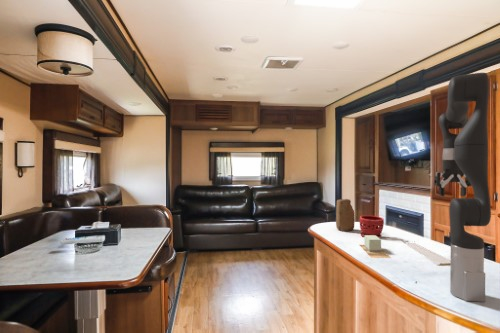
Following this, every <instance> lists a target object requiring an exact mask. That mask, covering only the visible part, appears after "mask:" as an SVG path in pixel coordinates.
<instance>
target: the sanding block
mask: <svg viewBox="0 0 500 333" xmlns="http://www.w3.org/2000/svg"><path fill="white" fill-rule="evenodd" d="M364 245H365V248H366V249H367V250H368V251H369V252H381V249H382V239H381V237H377V236H376V235H365V237H364Z"/></svg>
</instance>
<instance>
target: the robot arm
mask: <svg viewBox="0 0 500 333" xmlns="http://www.w3.org/2000/svg"><path fill="white" fill-rule="evenodd" d="M489 92H490V80H489V76H488V73H487V72H476V73H475V72H474V73H466V74H460V75H455V76H453V77H451V79H450V80H449V82H448V86H447V107H446V111H445V113H441V114H440V116H439V117H438V125H439V128H440V131H441V133H442V140H443V141H442V142H443V143H442V146H443V149H442V157H441V158H442V172H438V171H436V172H434V179H433V180H434V181H433V186H435V187H438V195H439V196H440V197H445V187H446V185H448V184H449V183H457V184H459V186H460V191H459V192H460V194H459V195H460V197H456V198H451V200H450V203H449V208H448V212H449V214H448V215H449V233H450V234H449V236H450V260H451V265H449V268H450V273H449V274H450V275H449V276H450V279H449V280H450V282H449V283H450V285H449V287H450V288H449V289H450V290H449V291H450V294H451V295H453V296H454V297H455V298H459V299H462V300H463V301H465V302H486V273H485V270H484V269H485V240H484V238H482V237H480V236H479V235H475V234H472V233H469V232H468V231H466V230H465V226H466V227H487V226H489V224H490V222H491V217H492V209H491V207H492V206H491V196H490V189H489V176H488V175H489V134H488V113H489V112H488V110H489V96H490V95H489V94H490V93H489ZM470 102H471V103H472V102H474V103H475V106H474V109H473V112H472V113H471V115H470V117H469V116H468V112H469V109H470V107H469V106H470V105H469V103H470ZM455 129H457V130H460V131H459V133H452V132H450V130H455ZM463 177H464V179H463ZM441 178H442V179H441ZM468 187H471V188H472V191H473V198H472V197H471V198H470V197H469V198H468V197H467V198H465V197H466V195H467V188H468ZM462 197H463V198H462Z"/></svg>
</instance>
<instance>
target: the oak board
mask: <svg viewBox="0 0 500 333" xmlns="http://www.w3.org/2000/svg"><path fill="white" fill-rule="evenodd" d="M359 247H360V248H361V249H362V250H363V251H364V252H365V253H366V255H368V256H369V257H370V258H372V259H373V258H374V259H375V258H376V259H392V257H391V256H390V255H389V254H387V252H385V251H384V249H382V248H381V252H369V251H368V250H367V249H366V248H365V244H359Z"/></svg>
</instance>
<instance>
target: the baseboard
mask: <svg viewBox="0 0 500 333" xmlns="http://www.w3.org/2000/svg"><path fill="white" fill-rule="evenodd" d="M406 242H407V243H406ZM404 244H405V245H406V246H408V247H409V248H411V249H412V250H413V251H415V252H417V253H418V254H419V255H421V256H423V257H424V258H426V259H427V260H428V261H430V262H432V263H433V264H435V265H436V266H450V265H451V259H449V258H447V257H444V256H442V255H440V254H439V253H436V252H434V251H432V250H431V249H428V248H426V247H424V246H421V245H419V244H417V243H415V242H409V240H405V241H404Z"/></svg>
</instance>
